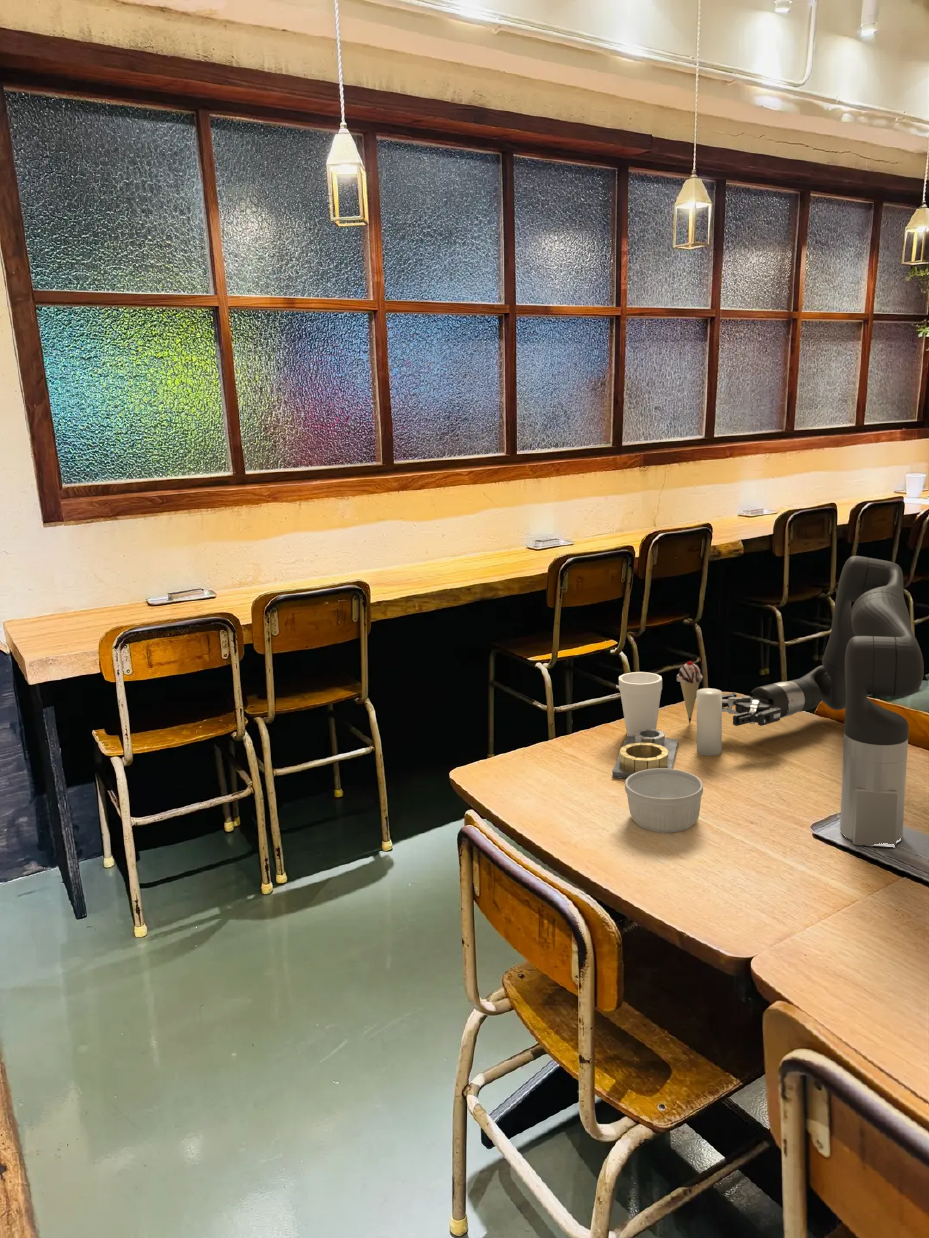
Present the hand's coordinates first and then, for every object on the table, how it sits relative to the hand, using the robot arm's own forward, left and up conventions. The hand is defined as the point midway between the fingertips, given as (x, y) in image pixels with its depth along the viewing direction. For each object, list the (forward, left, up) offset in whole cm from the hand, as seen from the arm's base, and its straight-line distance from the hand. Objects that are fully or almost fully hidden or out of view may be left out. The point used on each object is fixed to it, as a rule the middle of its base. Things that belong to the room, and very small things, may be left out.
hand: (719, 715), depth 176 cm
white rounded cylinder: (-2, +2, -7) cm, 8 cm away
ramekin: (-35, +8, -8) cm, 37 cm away
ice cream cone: (+14, +7, -8) cm, 18 cm away
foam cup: (+6, +17, -8) cm, 20 cm away
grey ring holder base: (-9, +14, -7) cm, 18 cm away
